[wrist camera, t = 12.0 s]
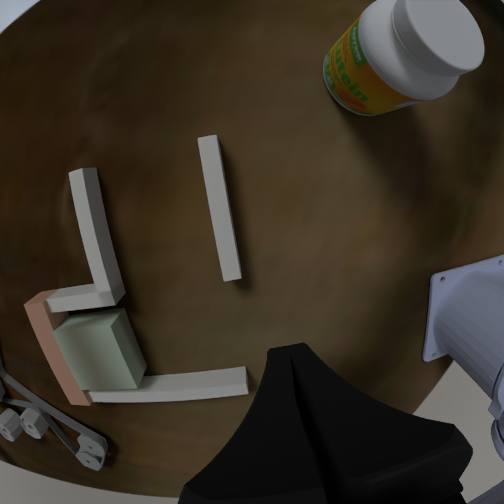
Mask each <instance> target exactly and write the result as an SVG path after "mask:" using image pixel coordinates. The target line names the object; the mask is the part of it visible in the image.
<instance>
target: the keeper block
mask: <svg viewBox="0 0 504 504" xmlns="http://www.w3.org/2000/svg"><path fill="white" fill-rule="evenodd" d="M52 333H53V335H54V337H55V339H56V342H57V344H58V346H59V348H60V350H61V352H62V354H63V356H64V358H65V361H66V363H67V365H68V366H69V368H70V370H71V372H72V374H73V376H74V378H75V380H76V382H77V384H78V385H79V387H80V389H81V390H113V389H138V387H139V384H140V382H141V379H142V377H143V374H144V372H145V370H146V367H147V365H146V362H145V360H144V358H143V355H142V353H141V350H140V348H139V345H138V343H137V340H136V338H135V335H134V333H133V330H132V327H131V325H130V322H129V319H128V316H127V314H126V311H125V308H118V309H111V310H104V311H98V312H91V313H83V314H76V315H69V316H68V317H67V318H66V319H65V320H64V321H63V322H62V323H61V324H60V325H59V326H58V327H57V328H56V329H55V330H54V331H53V332H52Z"/></svg>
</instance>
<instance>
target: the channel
mask: <svg viewBox="0 0 504 504" xmlns="http://www.w3.org/2000/svg"><path fill="white" fill-rule="evenodd" d="M198 144H199V150H200V156H201V162H202V168H203V173H204V179H205V185H206V190H207V196H208V201H209V207H210V212H211V218H212V223H213V228H214V234H215V239H216V244H217V249H218V254H219V260H220V265H221V270H222V275H223V279H224V281H230V280H236V279H241V264H240V259H239V253H238V248H237V242H236V236H235V231H234V225H233V219H232V213H231V208H230V202H229V196H228V190H227V185H226V179H225V173H224V167H223V161H222V155H221V149H220V143H219V138H218V136H217V135H212V136H206V137H201V138H198ZM69 178H70V184H71V189H72V195H73V200H74V205H75V210H76V214H77V219H78V223H79V228H80V232H81V236H82V240H83V244H84V248H85V252H86V255H87V259H88V263H89V266H90V270H91V273H92V276H93V280H94V284H88V285H81V286H75V287H69V288H62V289H59V290H58V291H56V292H55V293H54V294H52V295H51V296H50V297H49V298H47V299H46V301H47V303H48V306H49V309H50V312H51V313H53V312H62V311H71V310H80V309H88V308H97V307H105V306H113V305H116V304H117V303H118V302H119V300H120V299H121V298H122V297H123V296H124V294H125V293H126V292H125V289H124V285H123V282H122V279H121V275H120V271H119V268H118V264H117V261H116V257H115V253H114V249H113V245H112V241H111V237H110V233H109V228H108V224H107V220H106V215H105V210H104V206H103V201H102V196H101V191H100V185H99V180H98V174H97V168H81V169H78V170H75V171H72V172H69ZM87 393H88V395H89V396H90V398H91V400H92V402H162V401H181V400H195V399H207V398H217V397H227V396H235V395H243V394H249V392H248V376H247V371H246V367H245V366H244V367H237V368H229V369H221V370H213V371H204V372H194V373H183V374H171V375H157V376H143V377H142V379H141V382H140V384H139V387H138V389H113V390H88V392H87Z"/></svg>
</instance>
